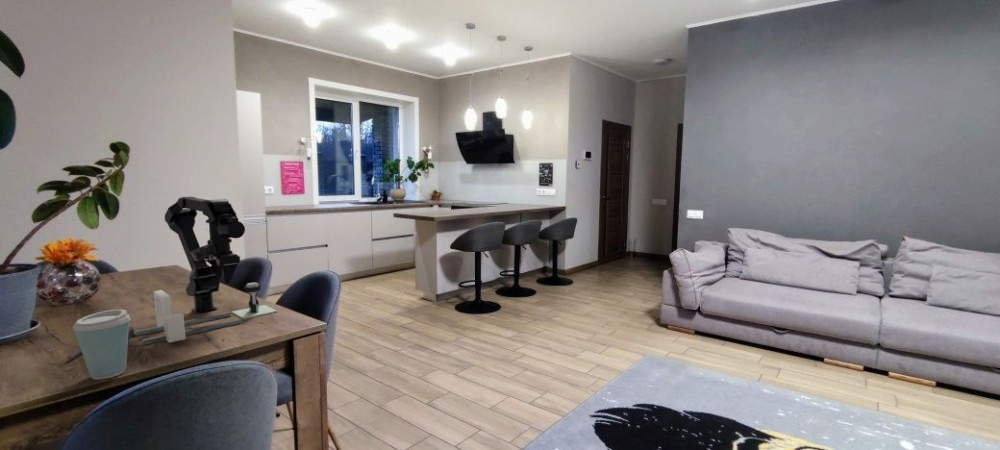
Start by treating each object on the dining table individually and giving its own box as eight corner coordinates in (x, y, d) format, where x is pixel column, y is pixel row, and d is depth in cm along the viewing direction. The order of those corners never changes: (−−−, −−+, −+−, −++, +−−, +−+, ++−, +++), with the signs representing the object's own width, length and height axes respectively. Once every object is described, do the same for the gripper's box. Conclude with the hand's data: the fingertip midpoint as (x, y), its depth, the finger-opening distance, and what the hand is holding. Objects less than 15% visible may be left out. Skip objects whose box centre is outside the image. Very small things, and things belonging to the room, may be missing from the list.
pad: (232, 312, 162) (232, 311, 162) (264, 306, 170) (264, 304, 170) (243, 319, 154) (243, 318, 154) (276, 312, 162) (276, 310, 162)
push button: (244, 310, 163) (242, 282, 162) (260, 307, 166) (258, 280, 165) (246, 314, 158) (244, 286, 157) (263, 311, 161) (262, 283, 160)
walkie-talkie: (102, 338, 139) (64, 364, 120) (101, 324, 138) (62, 347, 119) (137, 334, 141) (105, 359, 122) (136, 320, 141) (103, 343, 122)
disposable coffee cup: (104, 385, 106) (97, 323, 104) (66, 382, 108) (58, 320, 106) (146, 366, 117) (140, 309, 115) (111, 364, 118) (105, 307, 117)
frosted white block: (153, 327, 143) (149, 291, 141) (168, 323, 146) (165, 289, 144) (168, 342, 129) (165, 303, 128) (185, 338, 132) (182, 300, 131)
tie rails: (135, 334, 140) (134, 331, 140) (229, 315, 159) (229, 311, 159) (143, 345, 132) (143, 341, 131) (242, 322, 150) (242, 319, 150)
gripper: (184, 236, 156) (188, 281, 158) (200, 241, 143) (204, 290, 145) (220, 233, 164) (224, 276, 166) (239, 238, 152) (242, 284, 153)
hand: (223, 281), depth 157 cm, fingers open, 9 cm apart
